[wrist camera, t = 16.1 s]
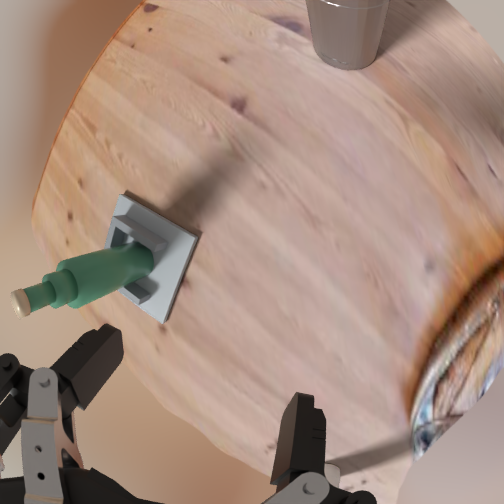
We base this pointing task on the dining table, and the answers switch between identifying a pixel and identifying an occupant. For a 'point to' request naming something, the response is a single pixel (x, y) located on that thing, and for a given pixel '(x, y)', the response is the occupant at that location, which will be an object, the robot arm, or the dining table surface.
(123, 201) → the bottle rest
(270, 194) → the dining table surface
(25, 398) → the robot arm
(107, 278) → the bottle
